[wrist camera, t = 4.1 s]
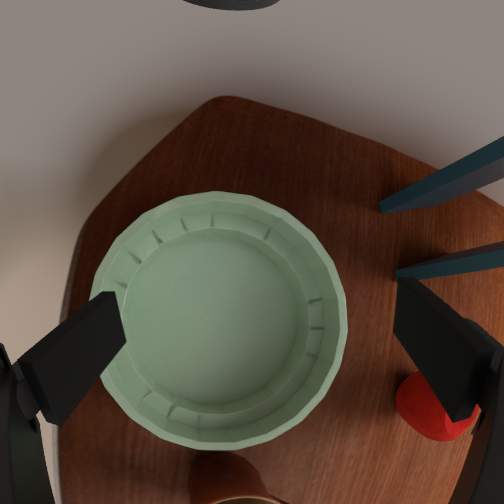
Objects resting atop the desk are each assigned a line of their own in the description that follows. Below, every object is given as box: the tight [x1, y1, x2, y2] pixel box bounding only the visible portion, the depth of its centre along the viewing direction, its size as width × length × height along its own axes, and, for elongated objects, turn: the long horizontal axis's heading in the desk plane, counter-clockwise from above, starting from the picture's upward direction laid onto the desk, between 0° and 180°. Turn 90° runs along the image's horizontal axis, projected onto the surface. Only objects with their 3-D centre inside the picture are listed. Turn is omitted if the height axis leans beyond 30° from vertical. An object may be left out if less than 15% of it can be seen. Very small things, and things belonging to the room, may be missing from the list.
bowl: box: [89, 191, 348, 450], centre depth 26 cm, size 21×21×7 cm
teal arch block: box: [378, 136, 504, 282], centre depth 23 cm, size 10×11×28 cm
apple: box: [395, 371, 479, 441], centre depth 28 cm, size 9×9×11 cm
